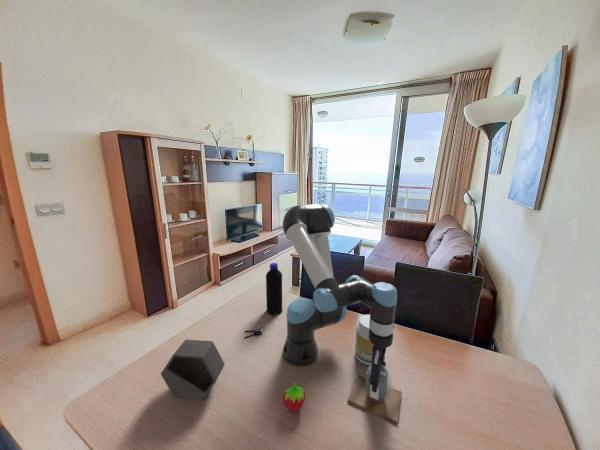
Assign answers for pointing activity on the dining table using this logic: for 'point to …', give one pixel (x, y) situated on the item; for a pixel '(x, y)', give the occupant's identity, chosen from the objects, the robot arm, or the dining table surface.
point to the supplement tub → (363, 341)
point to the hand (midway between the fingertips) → (376, 388)
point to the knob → (382, 381)
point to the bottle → (274, 290)
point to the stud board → (375, 400)
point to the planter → (193, 369)
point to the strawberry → (294, 398)
